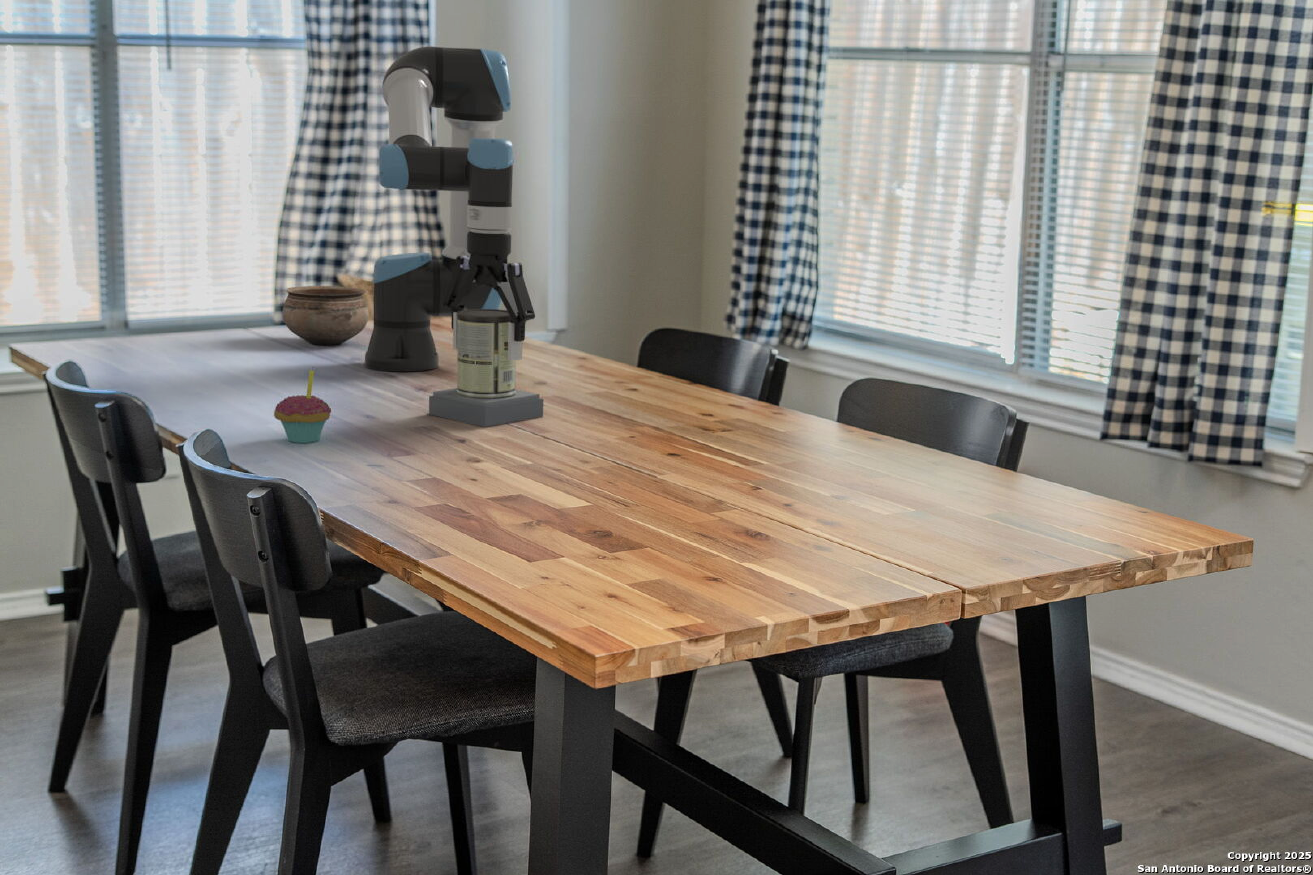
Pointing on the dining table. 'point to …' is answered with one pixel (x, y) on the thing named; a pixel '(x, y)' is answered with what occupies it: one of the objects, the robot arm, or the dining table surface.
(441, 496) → the dining table surface
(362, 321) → the cooking pot
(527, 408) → the pedestal
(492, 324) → the coffee can
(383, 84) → the robot arm
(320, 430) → the cupcake
